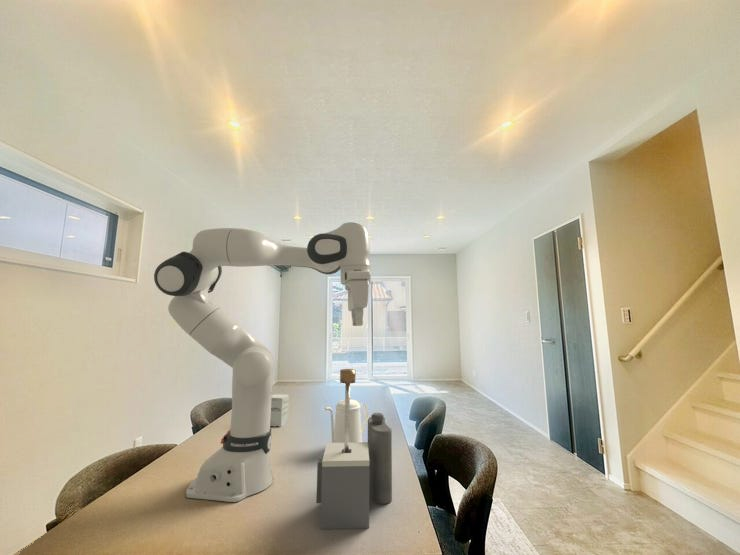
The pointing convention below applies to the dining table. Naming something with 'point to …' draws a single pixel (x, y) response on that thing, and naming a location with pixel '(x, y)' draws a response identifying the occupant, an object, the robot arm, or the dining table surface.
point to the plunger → (347, 401)
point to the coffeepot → (354, 421)
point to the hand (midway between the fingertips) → (357, 325)
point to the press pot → (344, 486)
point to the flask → (380, 459)
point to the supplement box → (279, 410)
